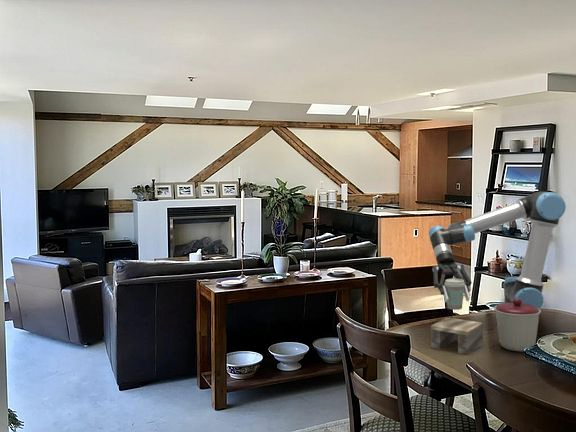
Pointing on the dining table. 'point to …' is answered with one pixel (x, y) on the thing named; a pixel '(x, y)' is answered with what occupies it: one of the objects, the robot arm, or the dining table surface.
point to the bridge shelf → (466, 330)
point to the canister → (517, 324)
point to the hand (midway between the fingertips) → (457, 300)
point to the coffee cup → (454, 293)
